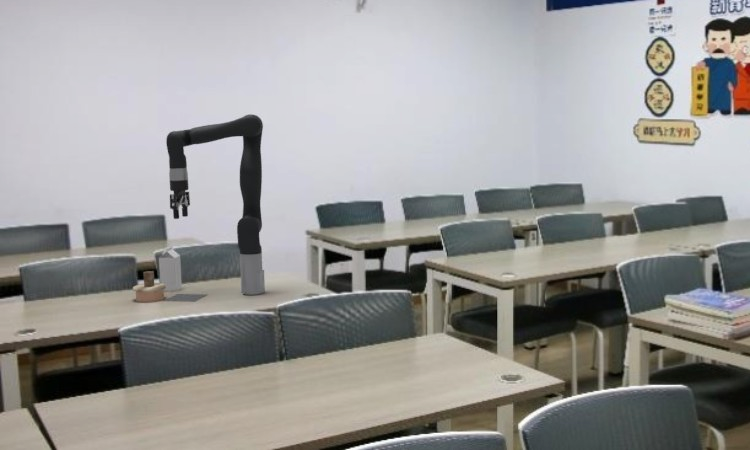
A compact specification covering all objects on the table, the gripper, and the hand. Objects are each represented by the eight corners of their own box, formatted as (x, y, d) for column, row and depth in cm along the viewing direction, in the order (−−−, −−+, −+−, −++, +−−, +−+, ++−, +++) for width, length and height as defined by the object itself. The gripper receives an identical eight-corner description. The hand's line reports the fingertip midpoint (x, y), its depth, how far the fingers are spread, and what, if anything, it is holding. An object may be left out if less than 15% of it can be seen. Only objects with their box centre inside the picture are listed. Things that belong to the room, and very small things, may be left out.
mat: (208, 295, 347) (208, 294, 347) (194, 303, 334) (194, 301, 333) (177, 295, 350) (177, 293, 350) (162, 302, 336) (162, 300, 336)
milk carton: (182, 289, 363) (179, 246, 361) (176, 292, 356) (174, 248, 354) (166, 289, 364) (164, 246, 362) (160, 292, 357) (158, 249, 355)
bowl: (168, 297, 345) (167, 286, 344) (156, 303, 334) (155, 291, 334) (144, 297, 347) (143, 285, 346) (131, 303, 336) (130, 291, 336)
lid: (171, 285, 345) (170, 269, 344) (156, 292, 332) (155, 275, 332) (142, 285, 348) (141, 268, 347) (127, 291, 335) (126, 274, 334)
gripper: (179, 180, 337) (182, 219, 339) (194, 177, 350) (196, 215, 352) (162, 180, 338) (165, 219, 340) (177, 178, 352) (179, 215, 354)
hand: (180, 217), depth 346 cm, fingers open, 8 cm apart
